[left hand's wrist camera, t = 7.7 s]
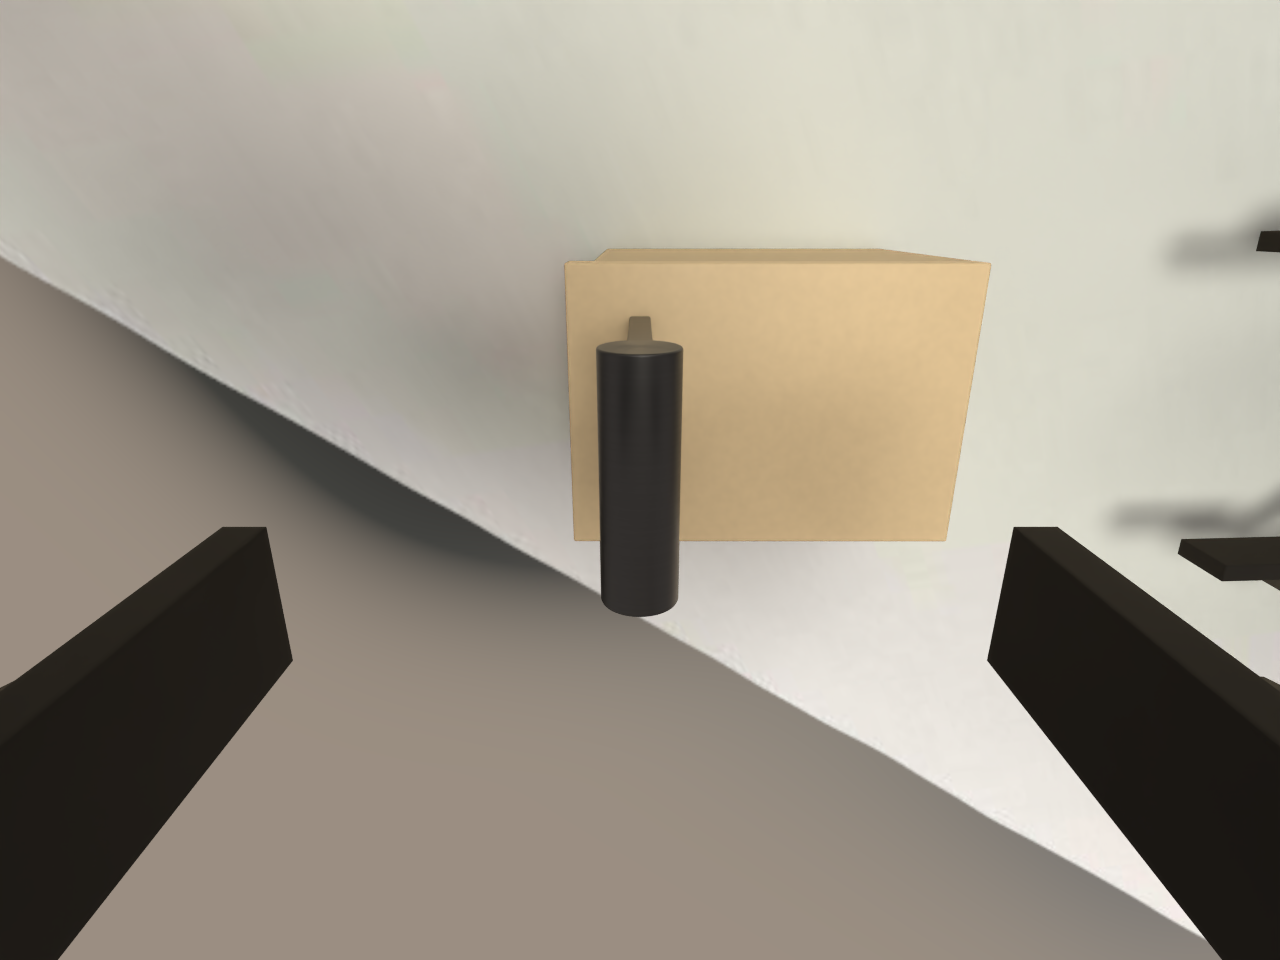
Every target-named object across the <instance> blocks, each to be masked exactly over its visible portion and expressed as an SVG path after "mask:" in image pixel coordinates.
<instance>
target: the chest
mask: <svg viewBox="0 0 1280 960" xmlns="http://www.w3.org/2000/svg"><path fill="white" fill-rule="evenodd" d="M595 261H970V260H962V259H954V258H946V257H938V256H931V255H923V254H915V253H907V252H900V251H892V250H884V249H607V250H606V251H605V252H604V253H602V254H601V255H600V256H599V257H598V258H597V259H596V260H595Z"/></svg>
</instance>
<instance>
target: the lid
mask: <svg viewBox="0 0 1280 960" xmlns="http://www.w3.org/2000/svg"><path fill="white" fill-rule="evenodd" d="M990 269H991V263H986V262H978V261H568V262H567V263H565V265H564V270H565V298H566V326H567V355H568V383H569V411H570V439H571V468H572V496H573V524H574V540H575V541H600V560H601V599H602V601H603V603H604V605H605V606H606V607H607V608H608V609H610V610H612V611H614V612H616V613H619V614H622V615H626V616H633V617H646V616H653V615H658V614H661V613H664V612H666V611H668V610H669V609H671V608H672V607H673V606H674V605H675V604H676V602H677V600H678V579H679V541H946V537H947V531H948V525H949V519H950V513H951V506H952V500H953V494H954V488H955V482H956V476H957V470H958V464H959V458H960V452H961V446H962V439H963V433H964V427H965V421H966V415H967V409H968V403H969V397H970V391H971V385H972V379H973V372H974V366H975V360H976V354H977V348H978V342H979V336H980V330H981V324H982V318H983V312H984V306H985V299H986V293H987V287H988V281H989V275H990Z"/></svg>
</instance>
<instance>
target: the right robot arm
mask: <svg viewBox="0 0 1280 960" xmlns="http://www.w3.org/2000/svg"><path fill="white" fill-rule="evenodd" d="M1256 251H1266V252H1280V231H1261V234H1260V237H1259V241H1258V245H1257V249H1256ZM1178 554H1179V555H1181V556H1182V557H1184V558H1185V559H1187V560H1189V561H1190V562H1192V563H1193V564H1195V565H1197V566H1198V567H1200V568H1201V569H1203V570H1205V571H1206V572H1208V573H1209V574H1211V575H1213V576H1214V577H1216V578H1217V579H1219V580H1221V581H1249V580H1263V581H1264V582H1266V583H1268V584H1269V585H1271V586H1273V587H1275V588H1276V589H1278V590H1280V537H1248V538H1210V539H1181V543H1180V547H1179V551H1178Z"/></svg>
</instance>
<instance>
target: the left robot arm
mask: <svg viewBox="0 0 1280 960" xmlns="http://www.w3.org/2000/svg"><path fill="white" fill-rule="evenodd" d="M292 661H293V659H292V654H291V649H290V644H289V639H288V634H287V629H286V624H285V619H284V614H283V609H282V604H281V599H280V594H279V589H278V584H277V579H276V574H275V569H274V564H273V559H272V554H271V548H270V544H269V538H268V533H267V528H266V527H222V528H221V529H219V530H218V531H217V532H215V533H214V534H213V535H211V536H210V537H208V538H207V539H206V540H204V541H203V542H202V543H200V544H199V545H198V546H196V547H195V548H194V549H192V550H191V551H189V552H188V553H187V554H185V555H184V556H183V557H181V558H180V559H179V560H177V561H176V562H175V563H173V564H172V565H171V566H169V567H168V568H166V569H165V570H164V571H162V572H161V573H160V574H158V575H157V576H156V577H154V578H153V579H152V580H150V581H149V582H148V583H146V584H145V585H143V586H142V587H141V588H139V589H138V590H137V591H135V592H134V593H133V594H131V595H130V596H129V597H127V598H126V599H125V600H123V601H122V602H121V603H119V604H118V605H116V606H115V607H114V608H112V609H111V610H110V611H108V612H107V613H106V614H104V615H103V616H102V617H100V618H99V619H98V620H96V621H95V622H94V623H92V624H91V625H89V626H88V627H87V628H85V629H84V630H83V631H81V632H80V633H79V634H77V635H76V636H75V637H73V638H72V639H70V640H69V641H68V642H66V643H65V644H64V645H62V646H61V647H60V648H58V649H57V650H56V651H54V652H53V653H52V654H50V655H49V656H47V657H46V658H45V659H43V660H42V661H41V662H39V663H38V664H37V665H35V666H34V667H33V668H31V669H30V670H29V671H27V672H26V673H24V674H23V675H22V676H20V677H19V678H18V679H16V680H15V681H13V682H11V683H9V684H7V685H5V686H3V687H1V688H0V960H58V959H59V958H60V956H61V955H62V954H63V953H64V951H65V950H66V949H67V947H68V946H69V945H70V944H71V942H72V941H73V940H74V938H75V937H76V936H77V935H78V933H79V932H80V931H81V930H82V928H83V927H84V926H85V924H86V923H87V922H88V921H89V919H90V918H91V917H92V916H93V914H94V913H95V912H96V911H97V909H98V908H99V907H100V905H101V904H102V903H103V902H104V900H105V899H106V898H107V896H108V895H109V894H110V893H111V891H112V890H113V889H114V888H115V886H116V885H117V884H118V882H119V881H120V880H121V879H122V877H123V876H124V875H125V873H126V872H127V871H128V870H129V868H130V867H131V866H132V865H133V863H134V862H135V861H136V860H137V858H138V857H139V856H140V854H141V853H142V852H143V851H144V849H145V848H146V847H147V846H148V844H149V843H150V842H151V840H152V839H153V838H154V837H155V835H156V834H157V833H158V832H159V830H160V829H161V828H162V826H163V825H164V824H165V823H166V821H167V820H168V819H169V818H170V816H171V815H172V814H173V812H174V811H175V810H176V809H177V807H178V806H179V805H180V803H181V802H182V801H183V800H184V798H185V797H186V796H187V795H188V793H189V792H190V791H191V789H192V788H193V787H194V786H195V784H196V783H197V782H198V781H199V779H200V778H201V777H202V776H203V774H204V773H205V772H206V770H207V769H208V768H209V767H210V765H211V764H212V763H213V762H214V760H215V759H216V758H217V756H218V755H219V754H220V753H221V751H222V750H223V749H224V747H225V746H226V745H227V744H228V742H229V741H230V740H231V739H232V737H233V736H234V735H235V733H236V732H237V731H238V730H239V728H240V727H241V726H242V725H243V723H244V722H245V721H246V719H247V718H248V717H249V716H250V714H251V713H252V712H253V711H254V709H255V708H256V707H257V705H258V704H259V703H260V702H261V700H262V699H263V698H264V696H265V695H266V694H267V693H268V691H269V690H270V689H271V688H272V686H273V685H274V684H275V683H276V681H277V680H278V679H279V677H280V676H281V675H282V674H283V672H284V671H285V670H286V669H287V667H288V666H289V665H290V663H291V662H292ZM987 661H988V662H989V663H990V665H991V666H992V667H993V669H994V670H995V671H996V672H997V674H998V675H999V676H1000V677H1001V679H1002V680H1003V681H1004V683H1005V684H1006V685H1007V686H1008V688H1009V689H1010V690H1011V691H1012V693H1013V694H1014V695H1015V697H1016V698H1017V699H1018V700H1019V702H1020V703H1021V704H1022V705H1023V707H1024V708H1025V709H1026V711H1027V712H1028V713H1029V714H1030V716H1031V717H1032V718H1033V719H1034V721H1035V722H1036V723H1037V725H1038V726H1039V727H1040V728H1041V730H1042V731H1043V732H1044V733H1045V735H1046V736H1047V737H1048V739H1049V740H1050V741H1051V742H1052V744H1053V745H1054V746H1055V747H1056V749H1057V750H1058V751H1059V753H1060V754H1061V755H1062V756H1063V758H1064V759H1065V760H1066V762H1067V763H1068V764H1069V765H1070V767H1071V768H1072V769H1073V770H1074V772H1075V773H1076V774H1077V776H1078V777H1079V778H1080V779H1081V781H1082V782H1083V783H1084V784H1085V786H1086V787H1087V788H1088V790H1089V791H1090V792H1091V793H1092V795H1093V796H1094V797H1095V798H1096V800H1097V801H1098V802H1099V804H1100V805H1101V806H1102V807H1103V809H1104V810H1105V811H1106V812H1107V814H1108V815H1109V816H1110V818H1111V819H1112V820H1113V821H1114V823H1115V824H1116V825H1117V826H1118V828H1119V829H1120V830H1121V832H1122V833H1123V834H1124V835H1125V837H1126V838H1127V839H1128V840H1129V842H1130V843H1131V844H1132V846H1133V847H1134V848H1135V849H1136V851H1137V852H1138V853H1139V854H1140V856H1141V857H1142V858H1143V860H1144V861H1145V862H1146V863H1147V865H1148V866H1149V867H1150V868H1151V870H1152V871H1153V872H1154V874H1155V875H1156V876H1157V877H1158V879H1159V880H1160V881H1161V883H1162V884H1163V885H1164V886H1165V888H1166V889H1167V890H1168V891H1169V893H1170V894H1171V895H1172V897H1173V898H1174V899H1175V900H1176V902H1177V903H1178V904H1179V905H1180V907H1181V908H1182V909H1183V911H1184V912H1185V913H1186V914H1187V916H1188V917H1189V918H1190V919H1191V921H1192V922H1193V923H1194V925H1195V926H1196V927H1197V928H1198V930H1199V931H1200V932H1201V933H1202V935H1203V936H1204V937H1205V939H1206V940H1207V941H1208V942H1209V944H1210V945H1211V946H1212V947H1213V949H1214V950H1215V951H1216V953H1217V954H1218V955H1219V956H1220V958H1221V959H1222V960H1280V685H1279V684H1277V683H1275V682H1273V681H1271V680H1269V679H1267V678H1265V677H1260V676H1258V675H1257V674H1256V673H1254V672H1253V671H1251V670H1250V669H1249V668H1247V667H1246V666H1245V665H1243V664H1242V663H1241V662H1239V661H1238V660H1237V659H1235V658H1234V657H1233V656H1231V655H1230V654H1228V653H1227V652H1226V651H1224V650H1223V649H1222V648H1220V647H1219V646H1218V645H1216V644H1215V643H1214V642H1212V641H1211V640H1210V639H1208V638H1207V637H1205V636H1204V635H1203V634H1201V633H1200V632H1199V631H1197V630H1196V629H1195V628H1193V627H1192V626H1191V625H1189V624H1188V623H1187V622H1185V621H1184V620H1182V619H1181V618H1180V617H1178V616H1177V615H1176V614H1174V613H1173V612H1172V611H1170V610H1169V609H1168V608H1166V607H1165V606H1164V605H1162V604H1161V603H1160V602H1158V601H1157V600H1155V599H1154V598H1153V597H1151V596H1150V595H1149V594H1147V593H1146V592H1145V591H1143V590H1142V589H1141V588H1139V587H1138V586H1137V585H1135V584H1134V583H1132V582H1131V581H1130V580H1128V579H1127V578H1126V577H1124V576H1123V575H1122V574H1120V573H1119V572H1118V571H1116V570H1115V569H1114V568H1112V567H1111V566H1109V565H1108V564H1107V563H1105V562H1104V561H1103V560H1101V559H1100V558H1099V557H1097V556H1096V555H1095V554H1093V553H1092V552H1091V551H1089V550H1088V549H1086V548H1085V547H1084V546H1082V545H1081V544H1080V543H1078V542H1077V541H1076V540H1074V539H1073V538H1072V537H1070V536H1069V535H1068V534H1066V533H1065V532H1064V531H1062V530H1061V529H1059V528H1058V527H1014V528H1013V533H1012V538H1011V543H1010V548H1009V553H1008V559H1007V564H1006V569H1005V574H1004V579H1003V584H1002V589H1001V594H1000V599H999V604H998V609H997V614H996V619H995V624H994V629H993V634H992V639H991V644H990V649H989V654H988V659H987Z"/></svg>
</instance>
